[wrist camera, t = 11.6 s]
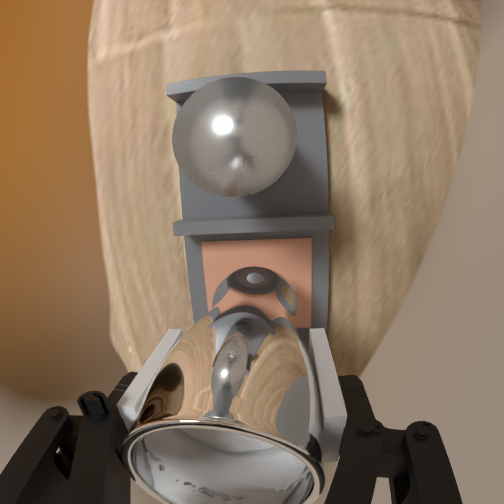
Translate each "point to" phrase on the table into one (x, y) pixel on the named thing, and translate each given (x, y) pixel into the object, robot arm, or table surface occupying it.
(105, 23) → the table surface
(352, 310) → the table surface
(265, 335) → the beer glass
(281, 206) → the slot rack
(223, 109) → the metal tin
